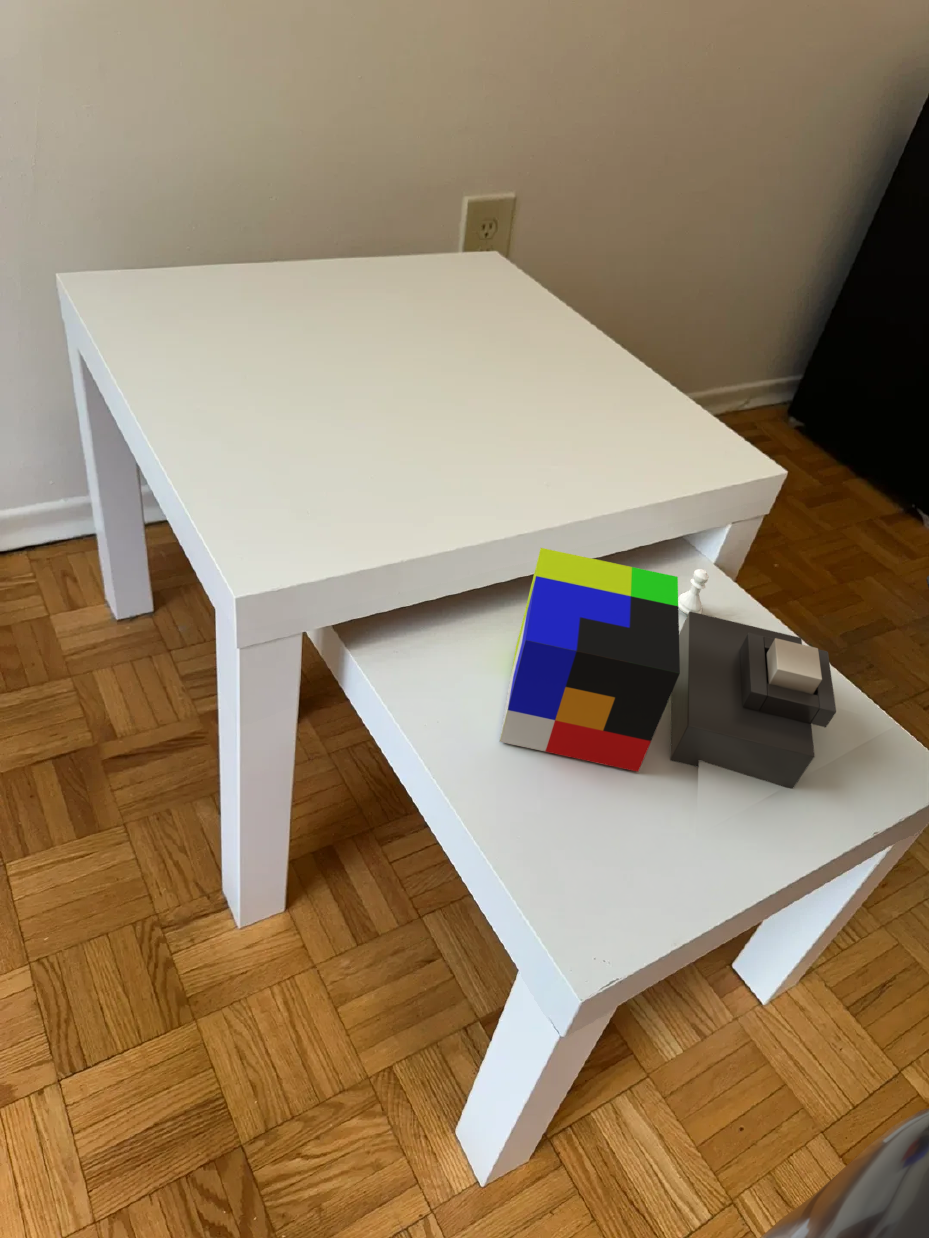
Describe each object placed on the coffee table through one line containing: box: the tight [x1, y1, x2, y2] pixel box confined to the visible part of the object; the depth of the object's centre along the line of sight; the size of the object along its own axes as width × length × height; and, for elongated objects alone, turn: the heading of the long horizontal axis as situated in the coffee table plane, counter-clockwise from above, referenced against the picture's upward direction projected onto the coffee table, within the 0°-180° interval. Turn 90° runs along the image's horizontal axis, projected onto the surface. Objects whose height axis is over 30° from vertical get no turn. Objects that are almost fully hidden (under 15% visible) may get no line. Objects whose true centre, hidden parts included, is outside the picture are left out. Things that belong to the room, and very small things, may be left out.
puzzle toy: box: [499, 547, 680, 773], centre depth 66 cm, size 10×10×10 cm
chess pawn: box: [678, 568, 710, 615], centre depth 79 cm, size 3×2×4 cm
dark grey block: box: [669, 611, 837, 790], centre depth 70 cm, size 12×10×6 cm
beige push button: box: [766, 638, 822, 694], centre depth 67 cm, size 3×3×2 cm
